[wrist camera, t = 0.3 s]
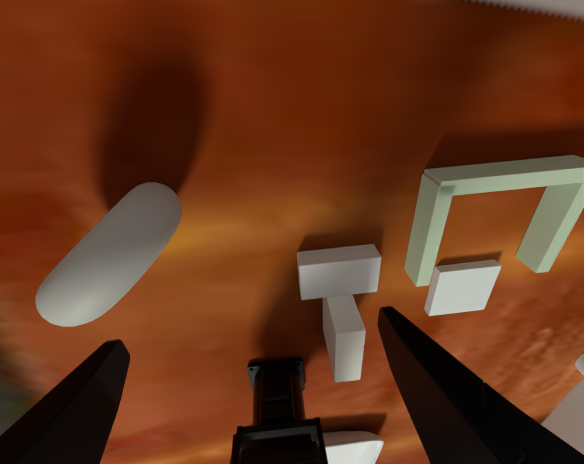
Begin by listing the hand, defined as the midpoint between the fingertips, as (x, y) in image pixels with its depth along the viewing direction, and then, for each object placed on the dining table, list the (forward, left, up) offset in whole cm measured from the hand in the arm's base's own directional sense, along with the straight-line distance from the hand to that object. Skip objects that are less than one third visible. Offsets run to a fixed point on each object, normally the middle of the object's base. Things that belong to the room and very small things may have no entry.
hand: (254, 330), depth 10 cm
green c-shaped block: (-5, -19, -14) cm, 24 cm away
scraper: (-12, -6, -14) cm, 20 cm away
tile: (-13, -19, -14) cm, 27 cm away
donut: (-1, +9, -14) cm, 17 cm away
